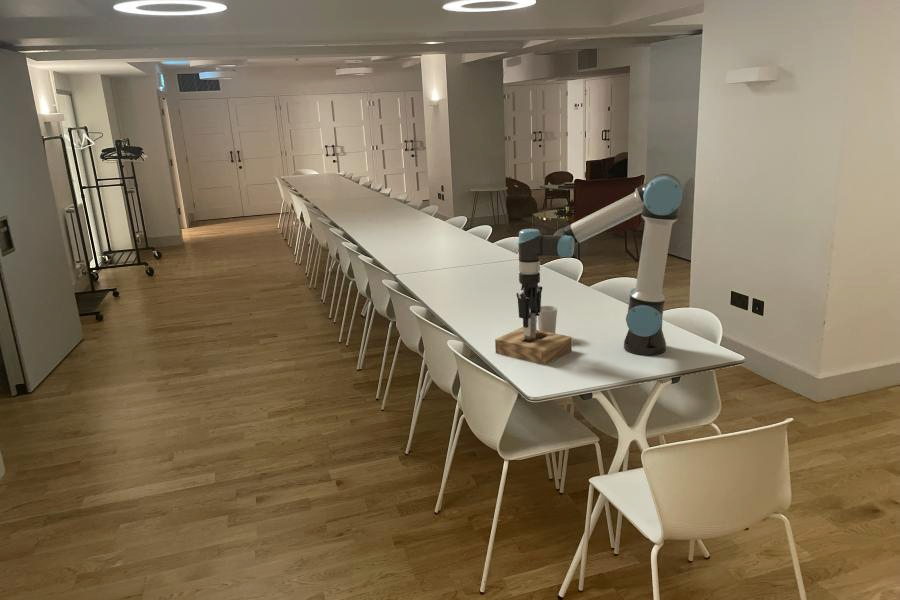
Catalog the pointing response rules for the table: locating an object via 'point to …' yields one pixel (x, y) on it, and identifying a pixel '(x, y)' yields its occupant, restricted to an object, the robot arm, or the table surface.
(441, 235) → the table surface
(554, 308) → the cup
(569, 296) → the table surface
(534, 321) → the stud
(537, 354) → the keyhole box
